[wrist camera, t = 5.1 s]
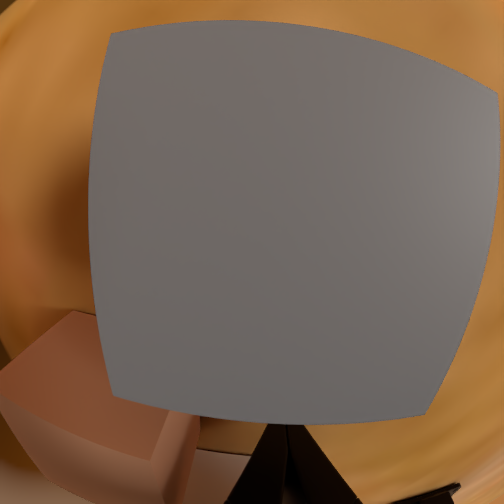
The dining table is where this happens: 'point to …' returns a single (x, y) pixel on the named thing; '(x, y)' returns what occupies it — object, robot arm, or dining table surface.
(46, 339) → the terracotta cube
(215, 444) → the dining table surface
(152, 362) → the grey cube
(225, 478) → the white cube
